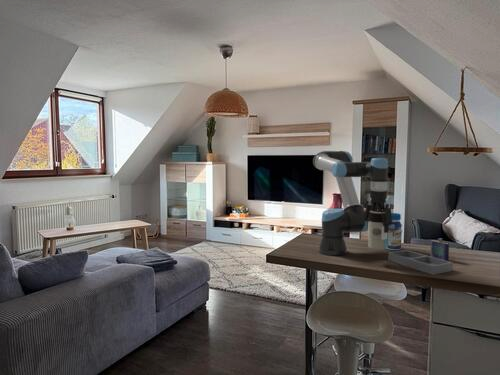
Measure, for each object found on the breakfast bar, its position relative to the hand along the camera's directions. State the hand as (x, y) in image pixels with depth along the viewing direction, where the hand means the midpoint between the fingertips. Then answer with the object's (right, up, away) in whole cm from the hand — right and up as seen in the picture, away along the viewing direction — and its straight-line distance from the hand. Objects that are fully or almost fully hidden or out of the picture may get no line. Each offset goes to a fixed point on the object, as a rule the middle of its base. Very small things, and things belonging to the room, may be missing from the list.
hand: (377, 237), depth 159 cm
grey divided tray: (+18, -13, -3) cm, 23 cm away
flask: (+34, -12, +6) cm, 37 cm away
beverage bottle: (+20, -11, +27) cm, 35 cm away
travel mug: (0, -5, 0) cm, 6 cm away
